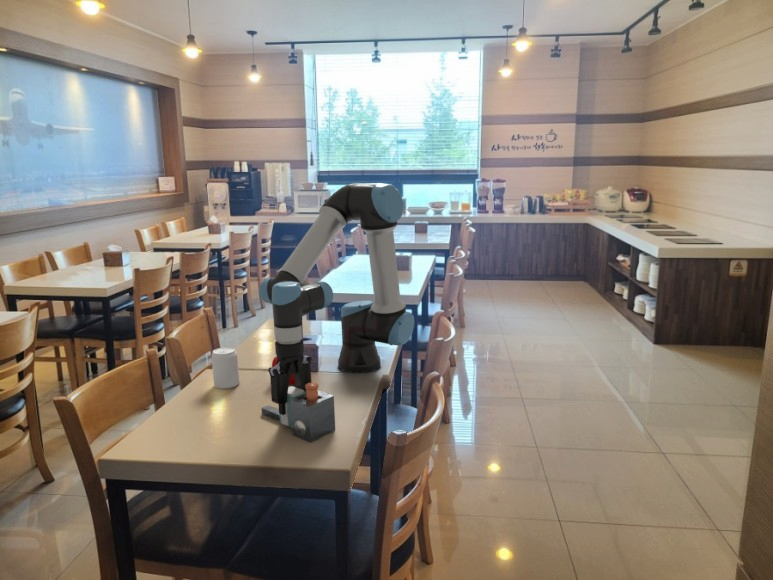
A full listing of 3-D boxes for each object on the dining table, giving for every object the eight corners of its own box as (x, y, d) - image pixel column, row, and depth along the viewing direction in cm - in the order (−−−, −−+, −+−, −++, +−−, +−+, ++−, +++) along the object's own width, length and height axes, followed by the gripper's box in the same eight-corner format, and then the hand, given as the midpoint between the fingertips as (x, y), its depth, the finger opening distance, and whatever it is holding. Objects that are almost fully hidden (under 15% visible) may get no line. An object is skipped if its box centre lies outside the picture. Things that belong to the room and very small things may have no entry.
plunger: (313, 401, 151) (312, 381, 150) (321, 404, 149) (320, 384, 147) (303, 405, 148) (302, 385, 147) (312, 408, 146) (311, 388, 145)
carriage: (293, 416, 159) (291, 385, 157) (308, 421, 155) (306, 390, 153) (279, 422, 155) (277, 390, 153) (294, 428, 151) (292, 395, 149)
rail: (268, 411, 164) (268, 405, 163) (308, 427, 153) (308, 420, 153) (261, 414, 162) (261, 407, 162) (301, 430, 151) (301, 423, 151)
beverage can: (244, 383, 186) (242, 348, 183) (227, 391, 179) (224, 356, 176) (226, 379, 190) (223, 345, 187) (208, 387, 183) (205, 352, 180)
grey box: (317, 423, 156) (315, 389, 154) (335, 430, 151) (333, 395, 149) (291, 435, 149) (289, 400, 146) (309, 443, 144) (307, 407, 142)
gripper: (304, 329, 159) (308, 406, 164) (252, 346, 145) (258, 428, 150) (323, 334, 154) (326, 412, 159) (271, 351, 141) (277, 436, 146)
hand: (293, 420), depth 155 cm, fingers closed on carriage, 5 cm apart
